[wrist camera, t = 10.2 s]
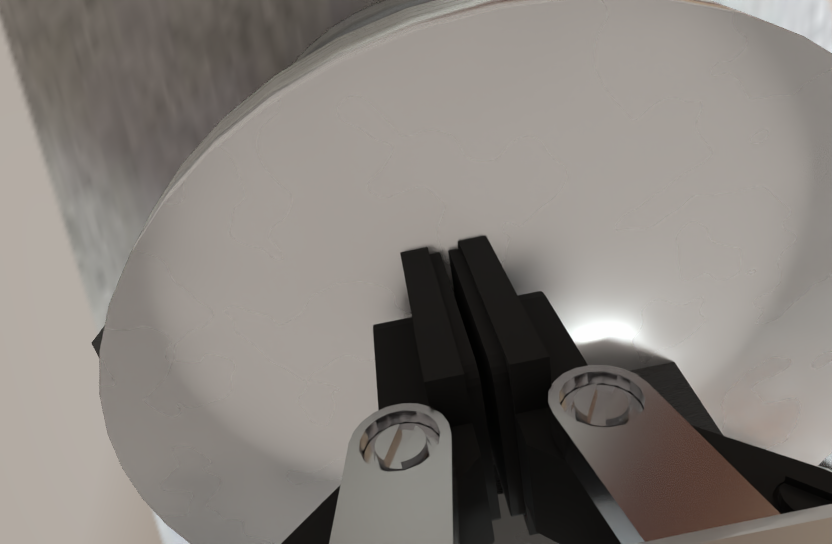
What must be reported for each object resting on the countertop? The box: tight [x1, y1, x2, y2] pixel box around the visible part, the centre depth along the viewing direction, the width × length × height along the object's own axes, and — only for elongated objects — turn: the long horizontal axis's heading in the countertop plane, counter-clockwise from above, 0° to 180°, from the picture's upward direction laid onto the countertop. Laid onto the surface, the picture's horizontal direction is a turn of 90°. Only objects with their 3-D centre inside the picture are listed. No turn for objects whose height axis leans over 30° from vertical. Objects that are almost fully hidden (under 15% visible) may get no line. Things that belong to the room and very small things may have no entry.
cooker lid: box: [99, 0, 832, 544], centre depth 14 cm, size 19×19×4 cm
